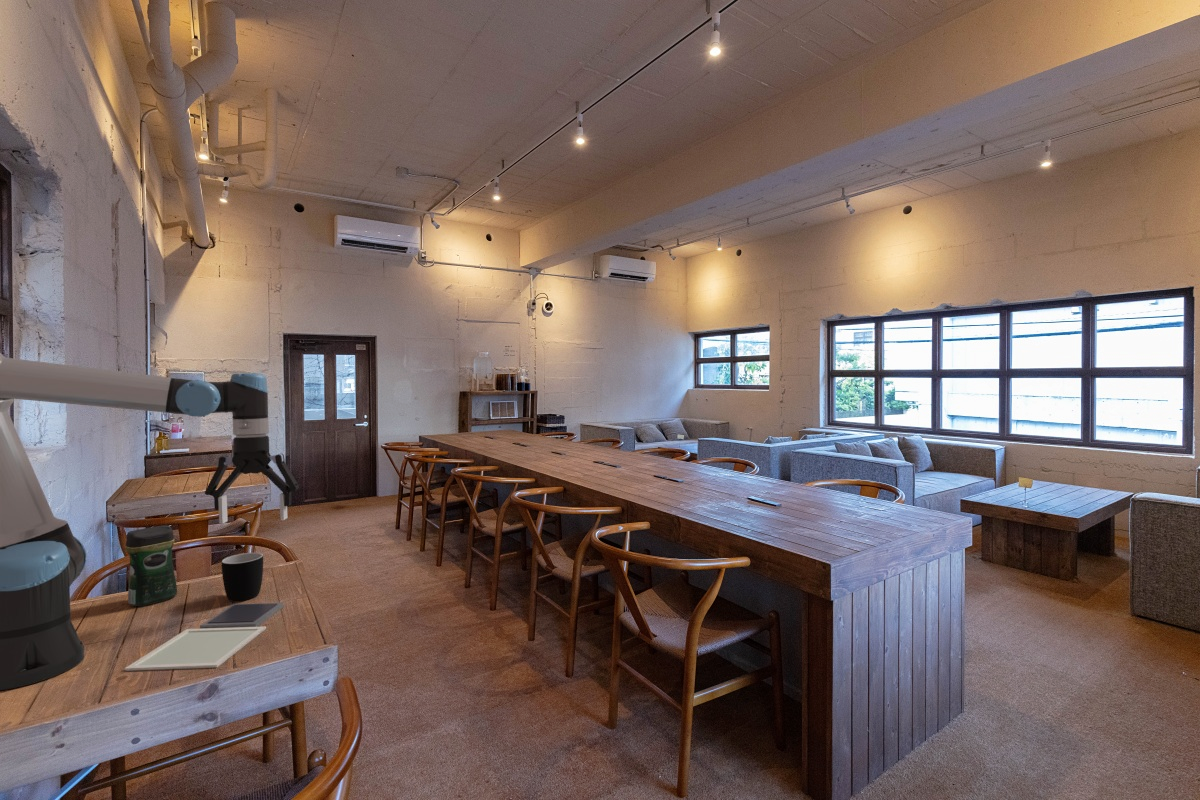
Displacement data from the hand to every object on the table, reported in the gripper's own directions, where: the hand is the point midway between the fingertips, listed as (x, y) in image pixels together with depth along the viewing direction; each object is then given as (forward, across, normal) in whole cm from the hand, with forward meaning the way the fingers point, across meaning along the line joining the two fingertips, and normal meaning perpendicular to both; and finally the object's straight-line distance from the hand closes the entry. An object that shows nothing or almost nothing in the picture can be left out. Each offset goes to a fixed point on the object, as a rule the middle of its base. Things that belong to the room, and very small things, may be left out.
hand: (254, 521), depth 138 cm
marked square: (+20, -2, -24) cm, 32 cm away
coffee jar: (+21, -27, +8) cm, 35 cm away
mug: (+21, -6, +6) cm, 22 cm away
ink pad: (+20, +1, -10) cm, 23 cm away
